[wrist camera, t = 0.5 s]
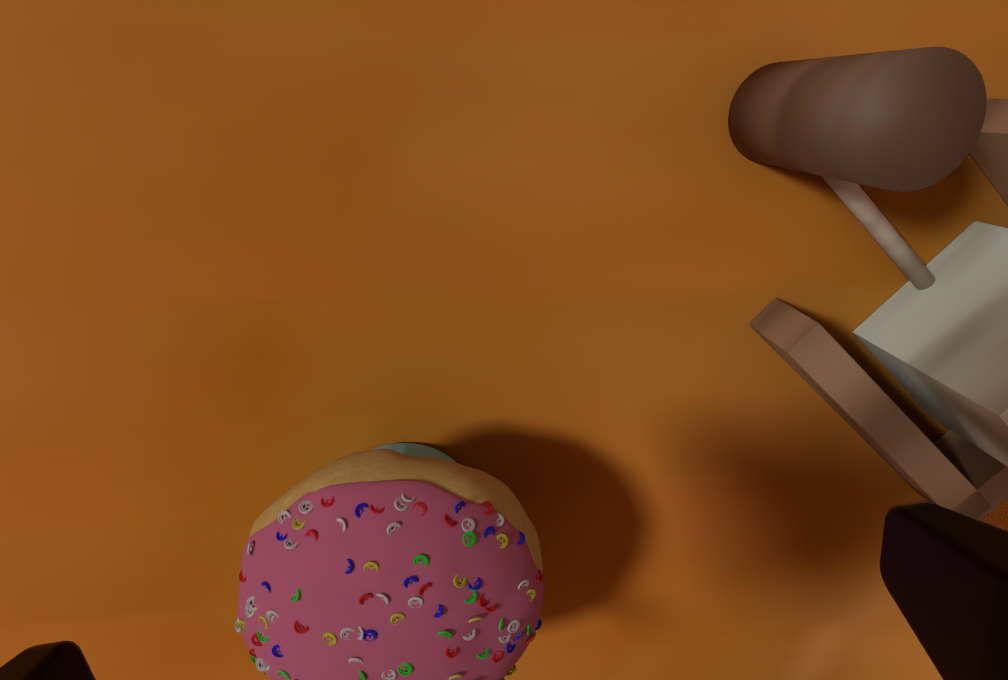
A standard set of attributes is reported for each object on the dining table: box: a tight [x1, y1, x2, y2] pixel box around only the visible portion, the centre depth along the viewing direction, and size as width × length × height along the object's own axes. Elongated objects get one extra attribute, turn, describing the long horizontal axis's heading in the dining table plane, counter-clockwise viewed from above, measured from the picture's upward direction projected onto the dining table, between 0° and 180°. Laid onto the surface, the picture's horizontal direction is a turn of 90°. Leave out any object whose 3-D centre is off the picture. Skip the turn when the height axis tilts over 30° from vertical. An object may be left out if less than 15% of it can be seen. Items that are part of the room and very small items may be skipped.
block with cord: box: [728, 47, 1008, 467], centre depth 17 cm, size 14×5×6 cm, turn 47°
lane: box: [749, 99, 1008, 521], centre depth 20 cm, size 10×9×2 cm
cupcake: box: [235, 443, 544, 680], centre depth 16 cm, size 9×8×12 cm
